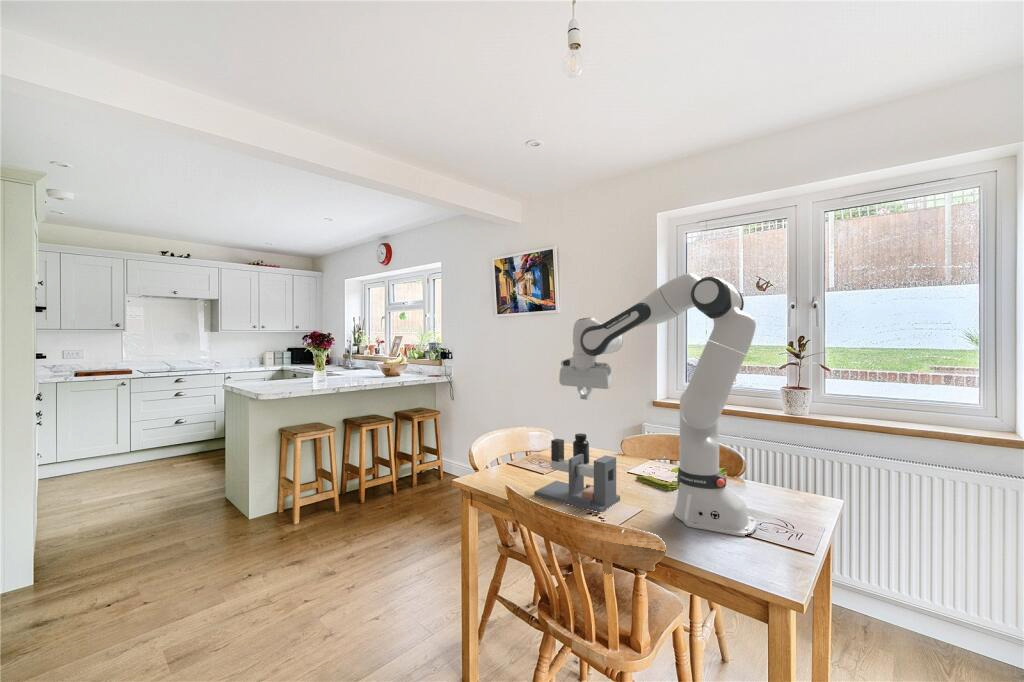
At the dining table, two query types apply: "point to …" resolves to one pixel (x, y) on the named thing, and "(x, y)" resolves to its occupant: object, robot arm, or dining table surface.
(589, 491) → the block
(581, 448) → the supplement bottle
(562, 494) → the bracket
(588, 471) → the shaft
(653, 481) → the dish towel
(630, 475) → the dining table surface
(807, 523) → the dining table surface
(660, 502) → the dining table surface
